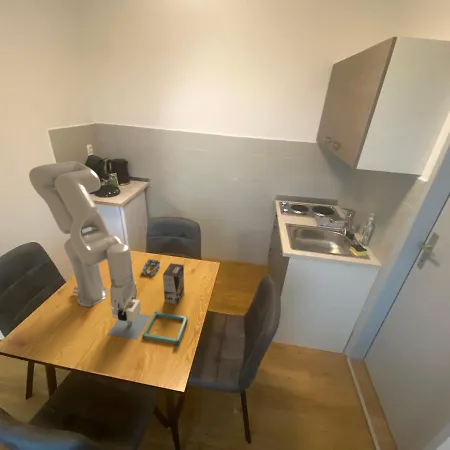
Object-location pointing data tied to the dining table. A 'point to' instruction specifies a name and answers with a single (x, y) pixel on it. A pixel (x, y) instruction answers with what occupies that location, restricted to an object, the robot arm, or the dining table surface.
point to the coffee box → (173, 283)
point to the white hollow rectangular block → (130, 310)
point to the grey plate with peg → (130, 327)
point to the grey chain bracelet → (152, 265)
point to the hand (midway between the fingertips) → (127, 312)
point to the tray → (162, 338)
